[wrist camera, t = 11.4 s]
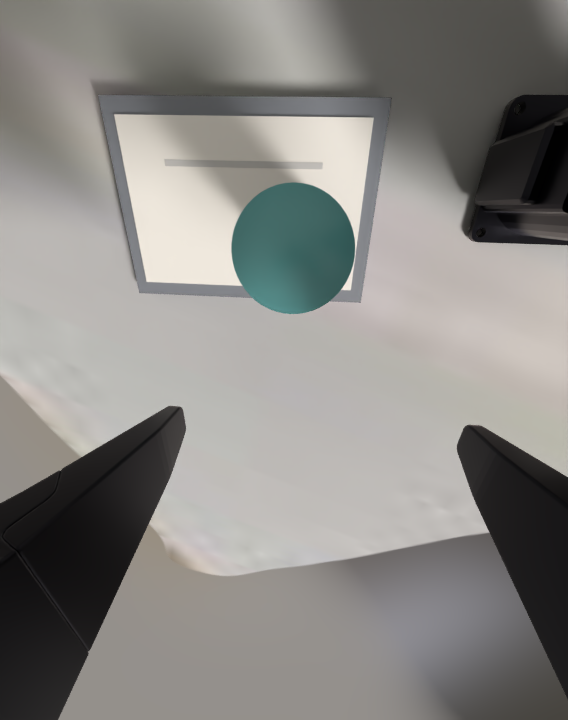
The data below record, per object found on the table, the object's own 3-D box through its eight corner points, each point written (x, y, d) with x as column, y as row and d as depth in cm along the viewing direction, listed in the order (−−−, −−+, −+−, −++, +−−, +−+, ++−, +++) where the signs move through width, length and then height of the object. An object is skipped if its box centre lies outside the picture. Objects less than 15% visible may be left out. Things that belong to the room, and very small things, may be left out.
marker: (336, 196, 16) (364, 183, 7) (329, 265, 17) (346, 316, 9) (270, 195, 16) (226, 180, 8) (270, 263, 17) (235, 311, 9)
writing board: (386, 104, 15) (392, 95, 14) (358, 298, 19) (361, 303, 18) (109, 101, 15) (94, 93, 14) (146, 289, 20) (137, 293, 19)
